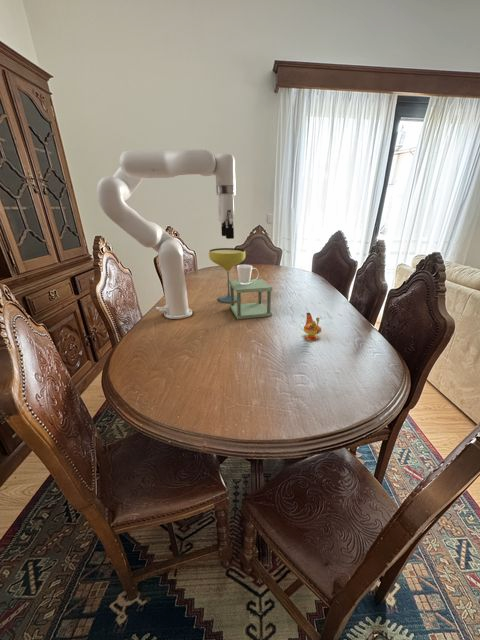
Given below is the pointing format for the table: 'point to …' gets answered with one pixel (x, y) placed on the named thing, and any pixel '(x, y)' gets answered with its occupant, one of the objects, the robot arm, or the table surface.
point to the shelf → (250, 308)
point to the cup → (245, 274)
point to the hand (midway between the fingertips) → (227, 237)
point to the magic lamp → (312, 328)
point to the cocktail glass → (227, 263)
